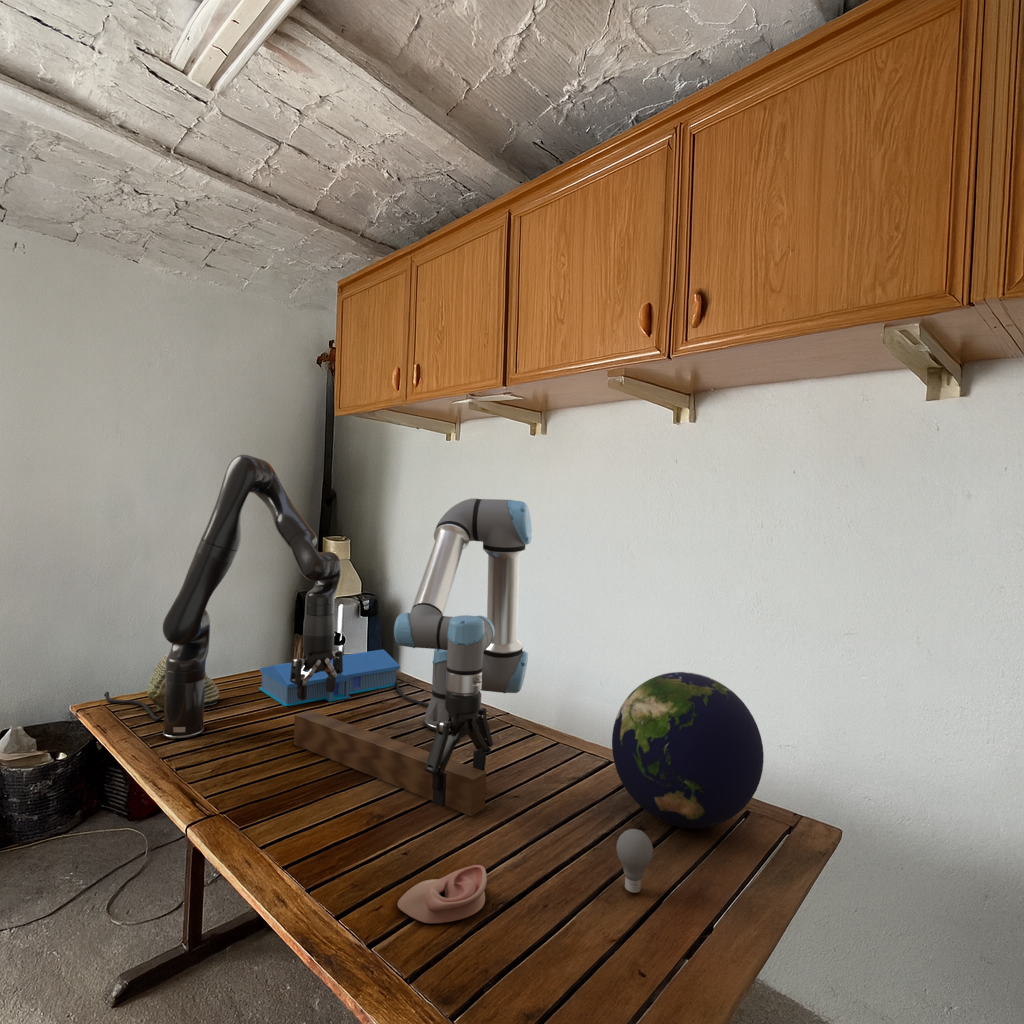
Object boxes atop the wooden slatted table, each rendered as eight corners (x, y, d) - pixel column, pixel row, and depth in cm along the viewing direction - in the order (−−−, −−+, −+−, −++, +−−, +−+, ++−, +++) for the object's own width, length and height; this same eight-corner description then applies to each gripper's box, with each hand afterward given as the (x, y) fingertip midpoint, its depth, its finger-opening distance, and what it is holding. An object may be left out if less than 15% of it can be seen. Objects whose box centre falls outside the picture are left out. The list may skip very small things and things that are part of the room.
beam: (293, 744, 161) (294, 714, 161) (308, 739, 165) (309, 710, 164) (471, 816, 128) (472, 779, 128) (485, 808, 132) (486, 771, 132)
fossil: (144, 707, 182) (145, 655, 182) (212, 696, 194) (213, 647, 194) (151, 716, 175) (153, 662, 175) (221, 703, 188) (223, 653, 188)
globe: (592, 836, 122) (599, 682, 122) (625, 776, 150) (631, 650, 149) (758, 877, 111) (767, 707, 110) (760, 804, 139) (767, 668, 138)
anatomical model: (390, 891, 96) (416, 850, 108) (389, 917, 96) (415, 874, 108) (474, 906, 94) (492, 863, 105) (473, 932, 94) (491, 887, 105)
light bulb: (610, 879, 108) (613, 822, 108) (644, 879, 109) (647, 822, 109) (619, 902, 102) (622, 840, 102) (655, 901, 103) (658, 840, 103)
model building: (289, 709, 186) (291, 675, 185) (258, 688, 204) (259, 657, 204) (403, 687, 212) (405, 657, 212) (366, 670, 230) (368, 643, 230)
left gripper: (304, 638, 151) (302, 705, 151) (351, 629, 163) (348, 692, 163) (285, 633, 155) (282, 699, 156) (331, 625, 167) (329, 686, 167)
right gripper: (438, 709, 120) (433, 821, 121) (511, 682, 141) (507, 778, 141) (409, 700, 125) (405, 808, 125) (484, 675, 145) (480, 768, 145)
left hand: (316, 695), depth 159 cm, fingers open, 8 cm apart
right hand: (459, 792), depth 133 cm, fingers open, 12 cm apart
